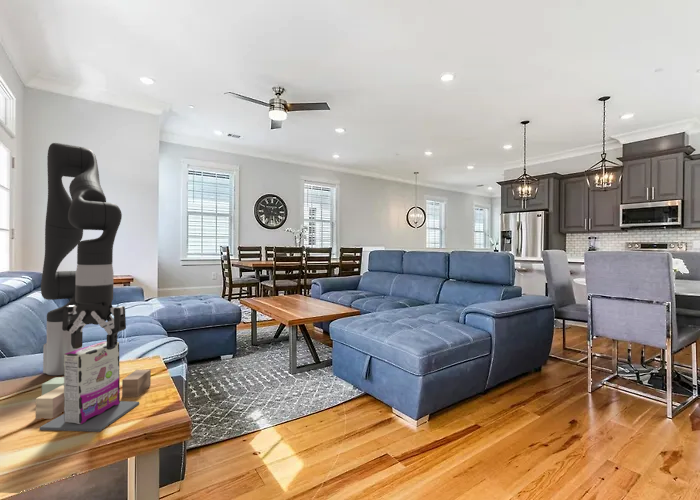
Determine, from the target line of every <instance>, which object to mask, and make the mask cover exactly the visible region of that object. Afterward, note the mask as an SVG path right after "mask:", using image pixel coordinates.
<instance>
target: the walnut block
mask: <svg viewBox="0 0 700 500" xmlns="http://www.w3.org/2000/svg"><path fill="white" fill-rule="evenodd" d="M151 371H152V369H149V368H148V369H135V370H134V371H132V372H130V374H128V375H126V377H124V378H123V379H122V380H121V398H138V397H139V396H140V395H141V394H143V393H144V392H145V391H146V390H147V389H148V388H150V386H151V377H152V374H151Z"/></svg>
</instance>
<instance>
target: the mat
mask: <svg viewBox="0 0 700 500" xmlns="http://www.w3.org/2000/svg"><path fill="white" fill-rule="evenodd" d="M139 405H140V401H131V400H130V401H129V400H128V401H125V400H124V401H123V400H120V404H118V405H116V406H115V407H113V408H111V409H109V410H107V411H105V412H103V413H102V414H100V415H98V416H96V417H94V418H92V419H90V420H89V421H87V422H85V423H83V424H72V423H65V420H64V413H63V414H62V413H61V414H60V415H58V416H56V417H54V418H53V419H51V420H50V421H48V422H46V423H45V424H43V425H41V426H39V430H41V431H63V432H64V431H69V432H93V433H95V432H97V433H98V432H99V433H100V432H102V431H103V430H105V429H106V428H107V427H109V426H110V425H111V424H113V423H114V422H116V421H117V420H118V419H120V418H122V417H123V416H124V415H125V414H128V412H131V409H132V410H133V409H134V408H136V407H138V406H139ZM109 424H110V425H109ZM108 425H109V426H108ZM106 426H107V427H106ZM105 427H106V428H105ZM102 429H103V430H102Z"/></svg>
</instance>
